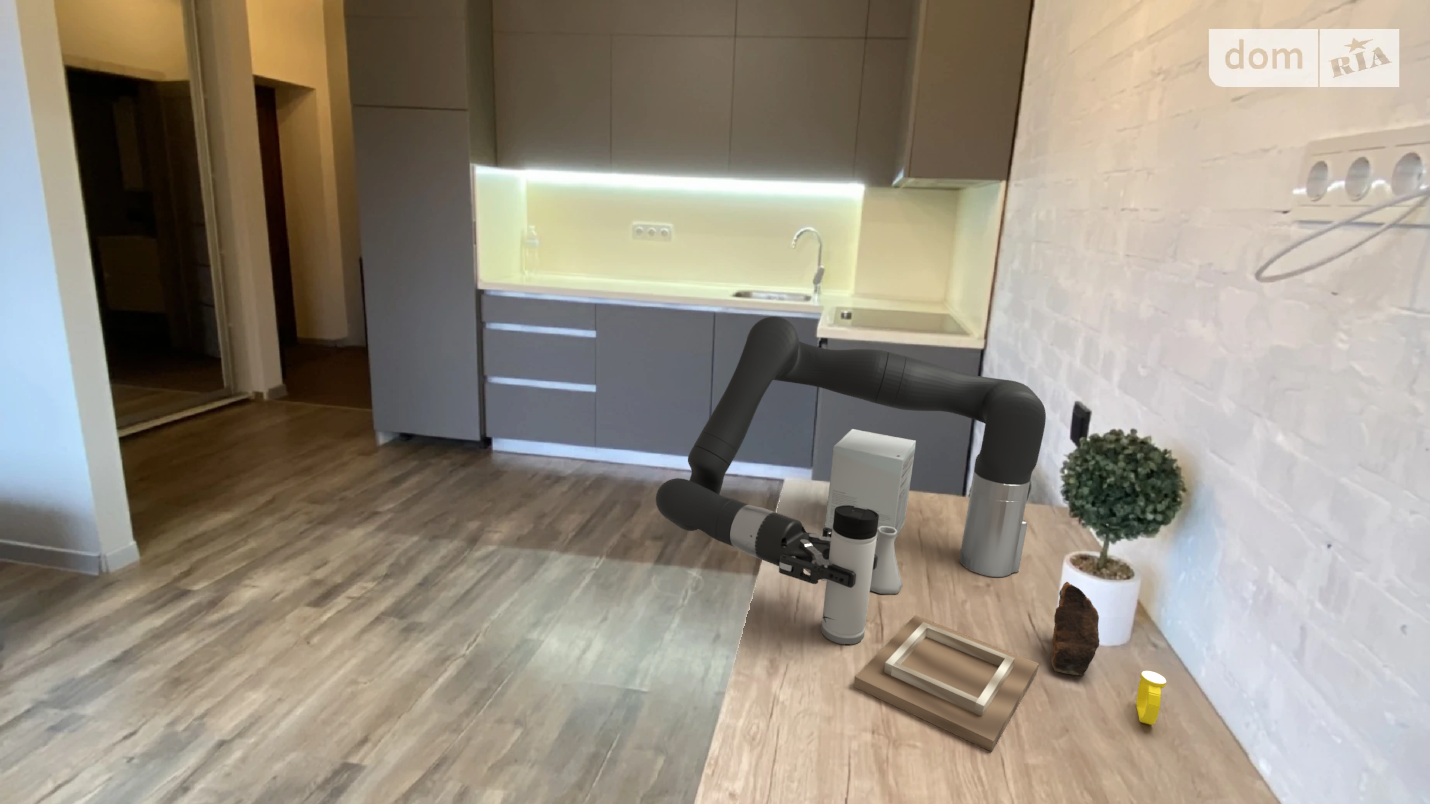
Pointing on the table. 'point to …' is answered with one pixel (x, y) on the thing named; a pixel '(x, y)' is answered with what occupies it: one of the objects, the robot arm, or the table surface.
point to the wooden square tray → (949, 680)
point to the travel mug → (854, 553)
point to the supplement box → (872, 476)
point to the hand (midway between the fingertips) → (865, 571)
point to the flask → (886, 564)
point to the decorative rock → (1074, 632)
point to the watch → (1149, 696)
